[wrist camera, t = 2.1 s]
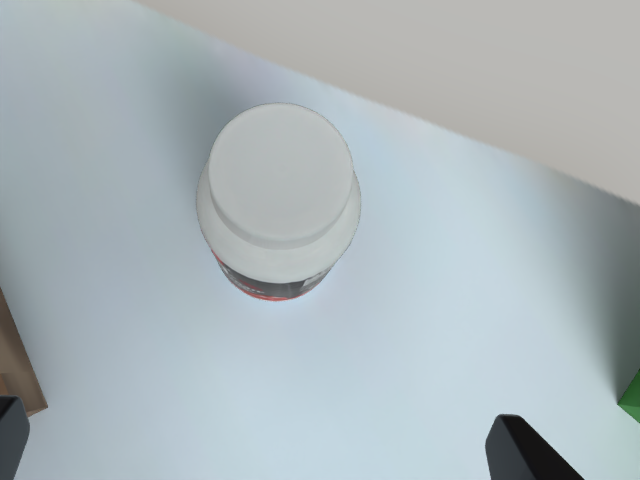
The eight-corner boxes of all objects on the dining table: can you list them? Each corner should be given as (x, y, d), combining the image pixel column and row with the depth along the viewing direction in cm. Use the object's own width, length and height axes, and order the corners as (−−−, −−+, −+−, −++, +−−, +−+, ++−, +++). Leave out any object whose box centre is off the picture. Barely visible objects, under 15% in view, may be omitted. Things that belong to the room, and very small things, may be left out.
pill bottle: (191, 257, 22) (135, 185, 13) (263, 167, 24) (260, 41, 14) (289, 328, 22) (307, 307, 13) (356, 233, 23) (417, 149, 14)
